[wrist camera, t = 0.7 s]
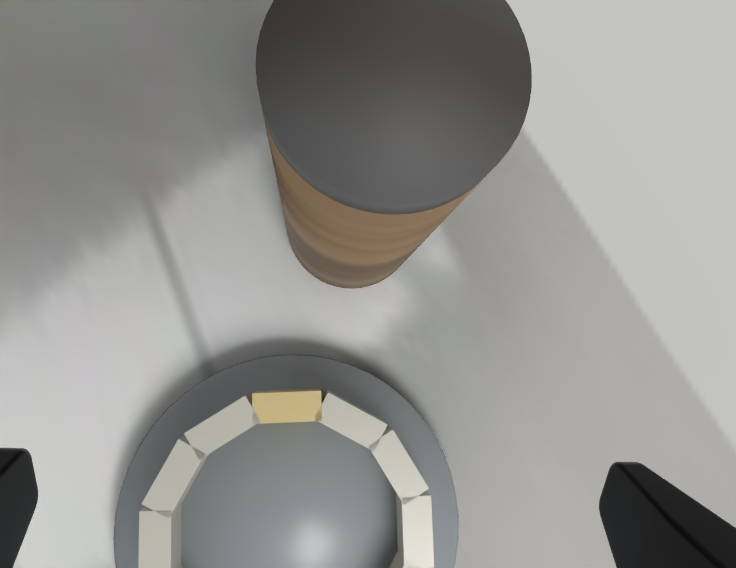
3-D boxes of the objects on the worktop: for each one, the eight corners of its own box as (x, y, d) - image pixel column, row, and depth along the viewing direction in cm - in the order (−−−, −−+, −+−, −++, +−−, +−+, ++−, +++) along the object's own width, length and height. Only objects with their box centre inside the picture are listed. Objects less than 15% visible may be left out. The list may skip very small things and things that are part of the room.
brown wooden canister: (416, 287, 23) (540, 202, 11) (288, 289, 23) (257, 204, 10) (410, 149, 24) (521, -85, 11) (286, 149, 23) (254, -96, 11)
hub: (459, 680, 21) (478, 722, 19) (119, 709, 20) (93, 758, 18) (444, 349, 23) (460, 349, 20) (126, 359, 22) (101, 360, 19)
